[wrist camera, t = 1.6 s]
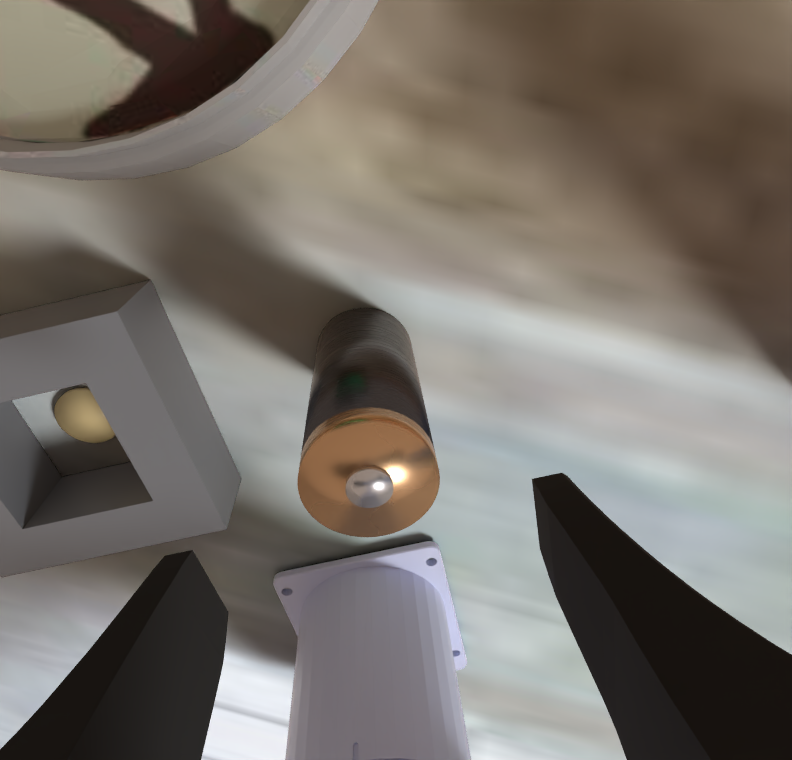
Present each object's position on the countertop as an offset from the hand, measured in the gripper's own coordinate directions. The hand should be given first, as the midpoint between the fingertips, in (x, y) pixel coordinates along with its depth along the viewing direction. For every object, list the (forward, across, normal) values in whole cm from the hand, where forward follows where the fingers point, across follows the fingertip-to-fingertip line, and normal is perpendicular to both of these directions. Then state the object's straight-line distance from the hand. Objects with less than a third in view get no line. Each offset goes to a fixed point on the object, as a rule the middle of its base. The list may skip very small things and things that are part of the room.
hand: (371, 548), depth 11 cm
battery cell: (+10, 0, 0) cm, 10 cm away
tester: (+10, +11, 0) cm, 15 cm away
